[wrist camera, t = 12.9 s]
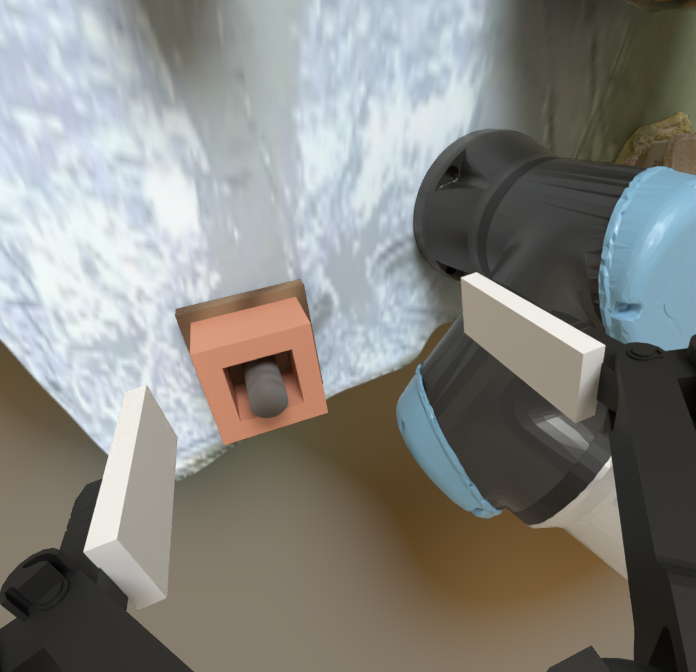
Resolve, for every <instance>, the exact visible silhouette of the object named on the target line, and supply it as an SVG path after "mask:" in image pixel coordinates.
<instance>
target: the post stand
mask: <svg viewBox="0 0 696 672" xmlns="http://www.w3.org/2000/svg"><path fill="white" fill-rule="evenodd" d="M293 297H296V298H297V300H298V301H299V303H300V305H301V307H302V309H303V311H304V312H305V314H306V316H307V318H308V320H309V322H310V324H311V320H310V315H309V310H308V304H307V299H306V294H305V289H304V284H303V283H302V281H301V280H300V279H299V280H295V281H291V282H286V283H282V284H278V285H274V286H270V287H266V288H262V289H257V290H253V291H249V292H245V293H241V294H237V295H232V296H228V297H224V298H220V299H216V300H212V301H208V302H203V303H199V304H195V305H191V306H187V307H183V308H178V309H176V313H175V317H176V319H177V322H178V324H179V327H180V330H181V332H182V335H183V337H184V340H185V343H186V345H187V348H188V350H189V353H190V330H191V323H193V322H197V321H201V320H205V319H209V318H213V317H217V316H221V315H225V314H229V313H233V312H237V311H241V310H245V309H249V308H253V307H257V306H261V305H265V304H269V303H273V302H277V301H281V300H285V299H289V298H293ZM311 329H312V325H311ZM312 334H313V330H312ZM313 339H314V335H313ZM314 344H315V340H314ZM315 349H316V345H315ZM316 354H317V350H316ZM317 359H318V356H317ZM318 364H319V361H318ZM229 368H230V372H231V375H232V378H233V381H234V384H235V386H236V385H239V384H243V383H246V388H247V393H248V399H249V404H250V409H251V411H252V412H253V413H254V414H255V415H256V416H258V417H261V418H273V417H276V416H278V415H280V414H281V413H282V412H283V411H284V410H285V409H286V407H287V405H288V395H287V392H286V389H285V386H284V383H283V380H282V377H281V374H280V373H281V372H285V371H288V370H292V368H291V364H290V360H289V355H288V351H284V352H280V353H276V354H273V355H269V356H266V357H262V358H258V359H255V360H251V361H247V362H244V363H240V364H237V365H233V366H229ZM319 370H320V366H319ZM320 375H321V371H320ZM321 380H322V376H321ZM322 384H323V381H322Z"/></svg>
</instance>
